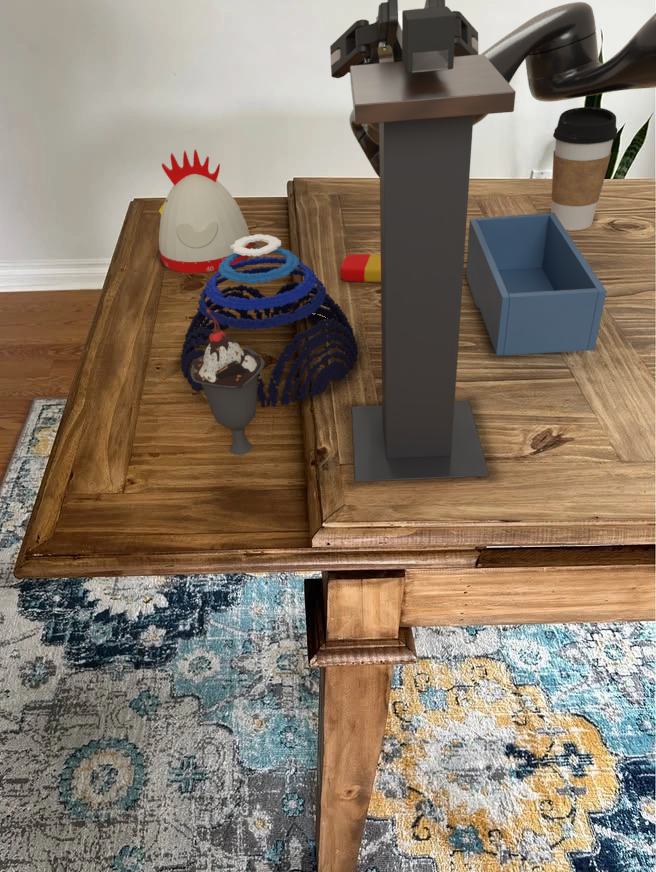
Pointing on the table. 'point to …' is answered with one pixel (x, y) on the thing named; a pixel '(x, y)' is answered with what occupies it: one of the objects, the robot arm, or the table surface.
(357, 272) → the popsicle
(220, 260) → the kitchen timer
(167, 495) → the table surface
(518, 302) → the bin
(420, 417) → the shelf stand
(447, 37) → the long rectangular bar
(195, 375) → the sundae
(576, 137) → the coffee cup
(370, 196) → the table surface
